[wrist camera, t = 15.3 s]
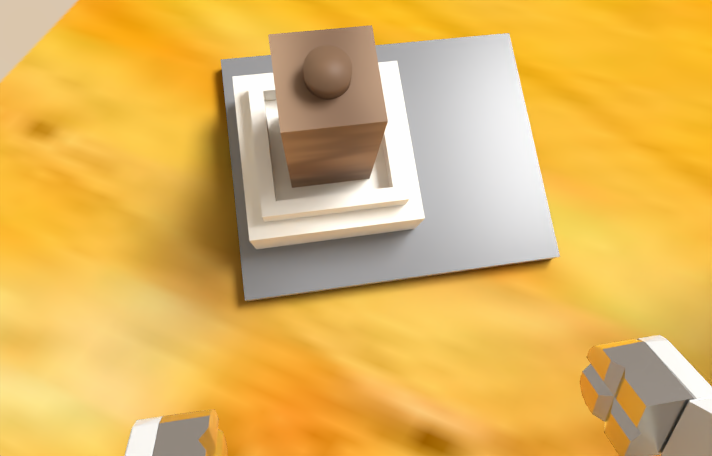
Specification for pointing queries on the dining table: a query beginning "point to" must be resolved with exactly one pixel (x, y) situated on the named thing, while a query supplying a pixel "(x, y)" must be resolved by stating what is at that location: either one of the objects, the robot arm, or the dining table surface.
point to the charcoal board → (426, 177)
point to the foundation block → (326, 201)
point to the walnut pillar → (328, 103)
